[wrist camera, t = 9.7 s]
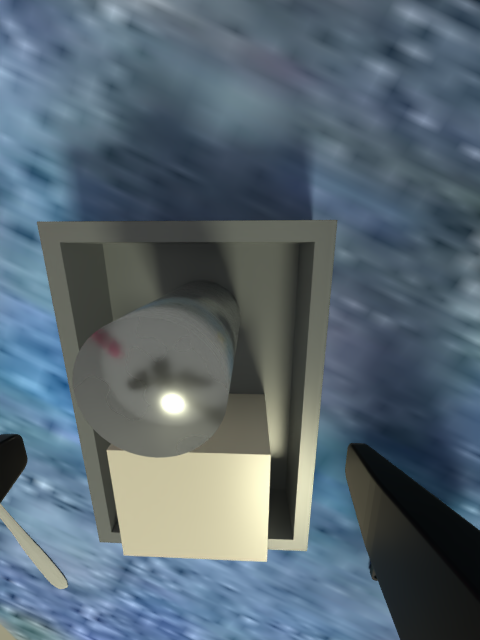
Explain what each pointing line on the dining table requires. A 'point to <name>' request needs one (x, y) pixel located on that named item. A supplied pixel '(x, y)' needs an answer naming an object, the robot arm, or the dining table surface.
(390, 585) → the robot arm
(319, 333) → the tote
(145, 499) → the cream hollow cover
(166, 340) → the tin
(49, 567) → the butter knife
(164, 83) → the dining table surface
